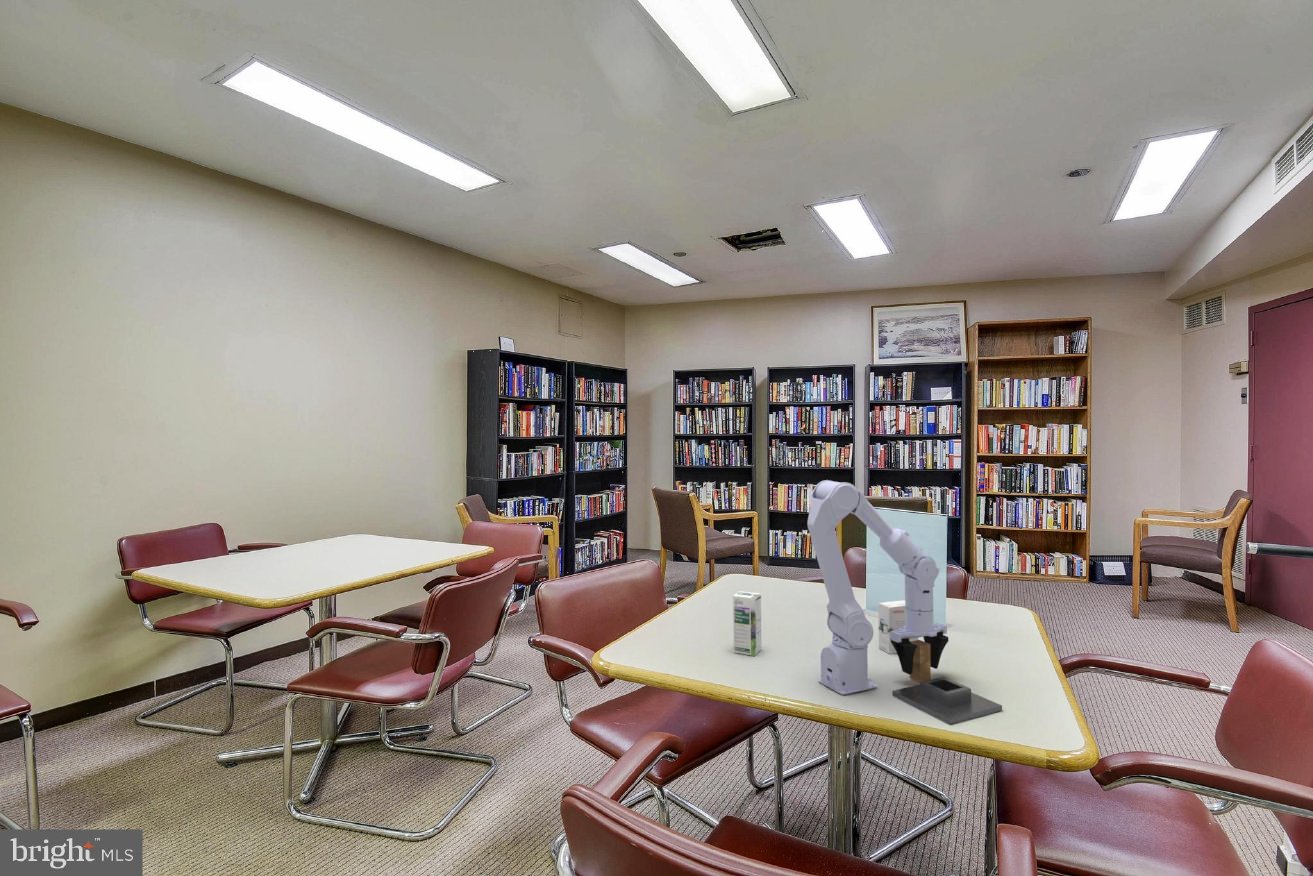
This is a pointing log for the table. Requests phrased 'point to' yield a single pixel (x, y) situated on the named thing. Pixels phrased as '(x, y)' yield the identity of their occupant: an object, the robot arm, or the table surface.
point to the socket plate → (947, 700)
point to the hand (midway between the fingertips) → (920, 669)
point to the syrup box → (747, 622)
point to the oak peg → (921, 662)
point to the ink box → (890, 623)
